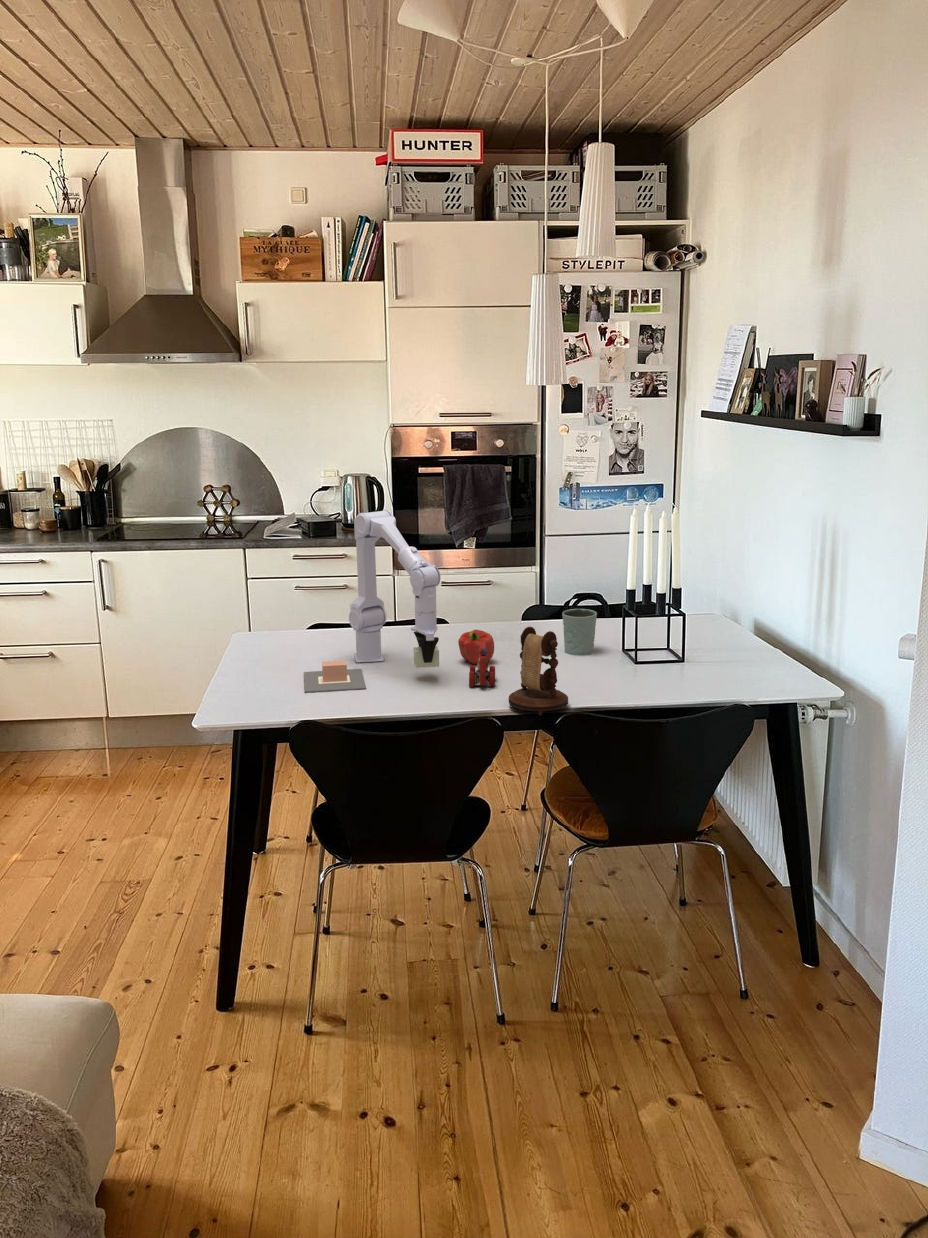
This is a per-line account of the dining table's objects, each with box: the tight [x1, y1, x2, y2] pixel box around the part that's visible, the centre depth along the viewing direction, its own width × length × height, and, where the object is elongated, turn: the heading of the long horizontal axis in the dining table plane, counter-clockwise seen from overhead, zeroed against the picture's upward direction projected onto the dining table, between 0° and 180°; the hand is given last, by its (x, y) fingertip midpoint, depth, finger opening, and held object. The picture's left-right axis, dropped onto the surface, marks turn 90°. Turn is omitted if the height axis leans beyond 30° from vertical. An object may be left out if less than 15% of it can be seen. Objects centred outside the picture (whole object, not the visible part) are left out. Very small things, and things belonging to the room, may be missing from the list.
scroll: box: [508, 626, 569, 717], centre depth 245 cm, size 15×15×20 cm
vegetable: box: [457, 629, 495, 665], centre depth 285 cm, size 11×10×10 cm
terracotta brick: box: [321, 660, 348, 682], centre depth 269 cm, size 4×6×4 cm
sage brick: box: [413, 645, 440, 669], centre depth 269 cm, size 4×6×4 cm
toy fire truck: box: [468, 642, 496, 687], centre depth 265 cm, size 7×12×10 cm, turn 178°
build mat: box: [303, 668, 367, 694], centre depth 270 cm, size 18×16×1 cm
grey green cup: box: [561, 608, 598, 656], centre depth 294 cm, size 10×10×12 cm
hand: (426, 659), depth 270 cm, fingers closed on sage brick, 4 cm apart
